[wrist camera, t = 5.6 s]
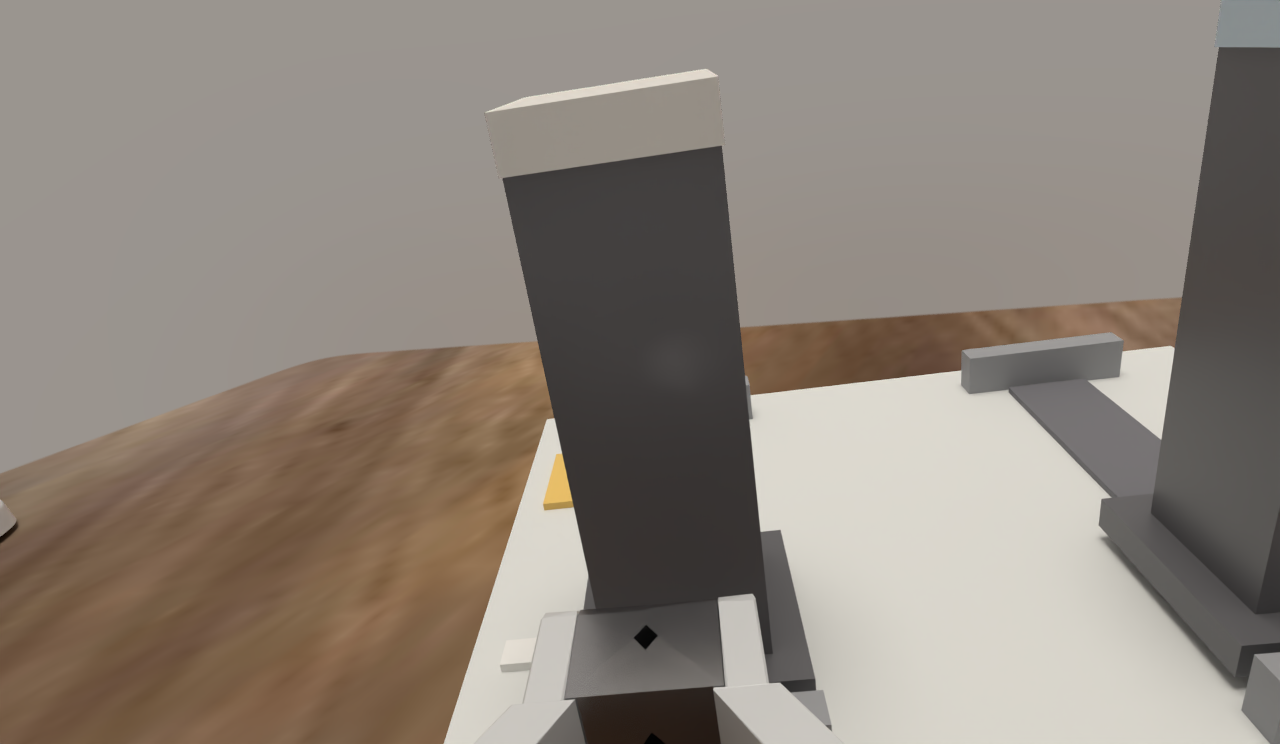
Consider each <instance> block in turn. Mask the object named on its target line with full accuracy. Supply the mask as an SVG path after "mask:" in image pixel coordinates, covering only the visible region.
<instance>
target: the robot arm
mask: <svg viewBox="0 0 1280 744" xmlns="http://www.w3.org/2000/svg"><path fill="white" fill-rule="evenodd" d="M15 523H16V518H15V516H14V515H13V514H12V512H11V511H10V510H9V509H8V507H7V506H6V505H5V503H4V502H3V501H2V500H0V536H1V535H3V534H4V533H6V532H7V531H8V530H9V529H10V528H12V526H13V525H14V524H15ZM718 605H719V607H718ZM474 744H844V743H843V742H842V741H841V740H840V739H839V738H838V737H837V736H836V735H835V734H834V733H833V732H832V731H831V730H829V729H828V728H827V727H826V726H825V725H824V724H823V723H822V722H821V721H820V720H819V719H818V718H817V717H816V716H815V715H814V714H813V713H812V712H810V711H809V710H808V709H807V708H806V707H805V706H804V705H803V704H802V703H801V702H800V701H799V700H798V699H797V698H796V697H795V696H794V695H793V694H792V693H790V692H789V691H788V690H787V689H786V688H785V687H784V686H783V685H782V684H781V683H769V680H768V673H767V667H766V661H765V655H764V648H763V642H762V636H761V630H760V623H759V617H758V611H757V604H756V598H755V597H754V595H753V594H744V595H736V596H727V597H718V600H717V598H716V599H706V600H696V601H686V602H675V603H665V604H655V605H643V606H628V607H614V608H599V609H585V610H580V611H565V612H551V613H545V615H544V616H543V618H542V619H541V621H540V626H539V630H538V635H537V639H536V644H535V648H534V653H533V657H532V662H531V666H530V671H529V675H528V680H527V684H526V689H525V693H524V698H523V702H522V704H513V705H511V706H510V707H509V708H508V709H507V710H506V711H505V712H504V713H503V714H502V715H501V716H500V717H499V718H498V719H497V720H496V721H495V722H494V723H493V724H492V725H491V726H490V727H489V729H488V730H487V731H486V732H485V733H484V734H483V735H482V736H481V737H480V738H479V739H478V740H477V741H476V742H475V743H474Z"/></svg>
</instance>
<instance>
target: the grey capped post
mask: <svg viewBox="0 0 1280 744" xmlns="http://www.w3.org/2000/svg"><path fill="white" fill-rule="evenodd" d="M1215 47H1219V51H1218V58H1217V64H1216V71H1215V79H1214V85H1213V92H1212V99H1211V105H1210V113H1209V119H1208V126H1207V132H1206V139H1205V146H1204V153H1203V160H1202V166H1201V174H1200V180H1199V187H1198V194H1197V201H1196V208H1195V214H1194V221H1193V228H1192V235H1191V242H1190V248H1189V256H1188V262H1187V269H1186V275H1185V283H1184V290H1183V296H1182V303H1181V309H1180V316H1179V323H1178V330H1177V337H1176V344H1175V350H1174V357H1173V364H1172V371H1171V378H1170V384H1169V391H1168V398H1167V405H1166V412H1165V418H1164V425H1163V432H1162V439H1161V446H1160V452H1159V459H1158V466H1157V473H1156V480H1155V486H1154V493H1153V494H1144V495H1134V496H1124V497H1114V498H1105V499H1101V508H1100V517H1099V526H1100V527H1101V529H1102V530H1103V531H1104V532H1105V533H1106V534H1107V535H1108V536H1109V537H1110V539H1111V540H1112V541H1113V542H1114V543H1115V544H1116V545H1117V546H1118V548H1119V549H1120V550H1121V551H1122V552H1123V553H1124V554H1125V555H1126V556H1127V558H1128V559H1129V560H1130V561H1131V562H1132V563H1133V564H1134V565H1135V566H1136V568H1137V569H1138V570H1139V571H1140V572H1141V573H1142V574H1143V575H1144V577H1145V578H1146V579H1147V580H1148V581H1149V582H1150V583H1151V584H1152V585H1153V587H1154V588H1155V589H1156V590H1157V591H1158V592H1159V593H1160V594H1161V595H1162V597H1163V598H1164V599H1165V600H1166V601H1167V602H1168V603H1169V604H1170V606H1171V607H1172V608H1173V609H1174V610H1175V611H1176V612H1177V613H1178V614H1179V616H1180V617H1181V618H1182V619H1183V620H1184V621H1185V622H1186V623H1187V625H1188V626H1189V627H1190V628H1191V629H1192V630H1193V631H1194V632H1195V633H1196V635H1197V636H1198V637H1199V638H1200V639H1201V640H1202V641H1203V642H1204V643H1205V645H1206V646H1207V647H1208V648H1209V649H1210V650H1211V651H1212V652H1213V654H1214V655H1215V656H1216V657H1217V658H1218V659H1219V660H1220V661H1221V662H1222V664H1223V665H1224V666H1225V667H1226V668H1227V669H1228V670H1229V671H1230V672H1231V674H1232V675H1233V676H1234V677H1245V676H1249V675H1250V671H1251V666H1252V662H1253V658H1254V654H1265V653H1277V652H1280V0H1221V5H1220V12H1219V19H1218V26H1217V33H1216V40H1215Z"/></svg>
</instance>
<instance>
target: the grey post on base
mask: <svg viewBox="0 0 1280 744" xmlns="http://www.w3.org/2000/svg"><path fill="white" fill-rule="evenodd" d="M484 114H485V118H486V122H487V127H488V131H489V136H490V141H491V146H492V150H493V154H494V159H495V164H496V169H497V173H498V178H503V183H504V187H505V192H506V197H507V201H508V206H509V210H510V215H511V219H512V224H513V229H514V233H515V237H516V243H517V247H518V252H519V257H520V261H521V266H522V270H523V274H524V280H525V284H526V289H527V294H528V298H529V303H530V307H531V312H532V316H533V321H534V326H535V331H536V335H537V340H538V344H539V349H540V354H541V358H542V363H543V367H544V372H545V377H546V381H547V386H548V391H549V395H550V400H551V404H552V409H553V414H554V418H555V423H556V428H557V432H558V437H559V441H560V446H561V451H562V455H563V460H564V464H565V469H566V474H567V478H568V483H569V488H570V492H571V497H572V501H573V506H574V511H575V515H576V520H577V525H578V529H579V534H580V538H581V543H582V548H583V552H584V557H585V561H586V566H587V571H588V581H587V588H586V595H585V601H584V608H583V610H585V609H599V608H614V607H628V606H643V605H655V604H665V603H675V602H686V601H696V600H706V599H716V598H717V600H718V597H727V596H736V595H744V594H753V595H754V597H755V598H756V604H757V611H758V617H759V623H760V630H761V636H762V642H763V648H764V655H765V661H766V667H767V673H768V680H769V683H781V684H782V685H783V686H784V687H785V688H786V689H787V690H788V691H789V692H790V693H792V692H804V691H816V680H815V675H814V671H813V666H812V662H811V658H810V654H809V649H808V645H807V641H806V636H805V632H804V628H803V624H802V619H801V615H800V611H799V606H798V602H797V598H796V594H795V589H794V585H793V581H792V577H791V572H790V568H789V564H788V559H787V555H786V551H785V547H784V542H783V538H782V534H781V530H773V531H763V532H761V531H760V521H759V512H758V502H757V492H756V482H755V472H754V462H753V452H752V442H751V432H750V422H749V412H748V402H747V392H746V382H745V372H744V362H743V352H742V342H741V332H740V323H739V313H738V303H737V294H736V283H735V273H734V263H733V253H732V243H731V233H730V224H729V213H728V204H727V193H726V184H725V173H724V163H723V153H722V145H725V139H724V129H723V119H722V109H721V98H720V89H719V78H718V76H717V75H716V74H714V73H712V72H711V71H709V70H708V69H702V70H695V71H690V72H683V73H676V74H670V75H664V76H657V77H651V78H645V79H638V80H632V81H626V82H619V83H613V84H607V85H600V86H594V87H588V88H581V89H575V90H568V91H562V92H556V93H549V94H543V95H537V96H530V97H525V98H522V99H519V100H517V101H514V102H512V103H509V104H506V105H504V106H501V107H499V108H496V109H493V110H490V111H488V112H485V113H484ZM718 607H719V605H718Z"/></svg>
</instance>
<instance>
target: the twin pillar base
mask: <svg viewBox="0 0 1280 744" xmlns="http://www.w3.org/2000/svg"><path fill="white" fill-rule="evenodd" d="M1123 342H1124V340H1122V339H1121V338H1119V337H1118V336H1116V335H1114V334H1113V333H1111V332H1110V333H1102V334H1094V335H1085V336H1077V337H1069V338H1060V339H1052V340H1044V341H1035V342H1027V343H1019V344H1010V345H1002V346H994V347H986V348H977V349H969V350H962V368H961V371H954V372H946V373H937V374H929V375H920V376H912V377H903V378H895V379H886V380H878V381H869V382H861V383H852V384H844V385H835V386H827V387H818V388H810V389H801V390H793V391H785V392H776V393H768V394H759V395H751V396H750V386H749V381H748V377H747V376H745V382H746V392H747V402H748V412H749V422H750V432H751V442H752V452H753V462H754V472H755V482H756V492H757V502H758V512H759V521H760V531H761V532H763V531H773V530H781V534H782V538H783V542H784V547H785V551H786V555H787V559H788V564H789V568H790V572H791V577H792V581H793V585H794V589H795V594H796V598H797V602H798V606H799V611H800V615H801V619H802V624H803V628H804V632H805V636H806V641H807V645H808V649H809V654H810V658H811V662H812V666H813V671H814V675H815V680H816V691H804V692H792V694H793V695H794V696H795V697H796V698H797V699H798V700H799V701H800V702H801V703H802V704H803V705H804V706H805V707H806V708H807V709H808V710H809V711H810V712H812V713H813V714H814V715H815V716H816V717H817V718H818V719H819V720H820V721H821V722H822V723H823V724H824V725H825V726H826V727H827V728H828V729H829V730H831V731H832V732H833V733H834V734H835V735H836V736H837V737H838V738H839V739H840V740H841V741H842V742H843V743H844V744H1280V652H1277V653H1265V654H1254V658H1253V662H1252V666H1251V671H1250V675H1249V676H1245V677H1234V676H1233V675H1232V674H1231V672H1230V671H1229V670H1228V669H1227V668H1226V667H1225V666H1224V665H1223V664H1222V662H1221V661H1220V660H1219V659H1218V658H1217V657H1216V656H1215V655H1214V654H1213V652H1212V651H1211V650H1210V649H1209V648H1208V647H1207V646H1206V645H1205V643H1204V642H1203V641H1202V640H1201V639H1200V638H1199V637H1198V636H1197V635H1196V633H1195V632H1194V631H1193V630H1192V629H1191V628H1190V627H1189V626H1188V625H1187V623H1186V622H1185V621H1184V620H1183V619H1182V618H1181V617H1180V616H1179V614H1178V613H1177V612H1176V611H1175V610H1174V609H1173V608H1172V607H1171V606H1170V604H1169V603H1168V602H1167V601H1166V600H1165V599H1164V598H1163V597H1162V595H1161V594H1160V593H1159V592H1158V591H1157V590H1156V589H1155V588H1154V587H1153V585H1152V584H1151V583H1150V582H1149V581H1148V580H1147V579H1146V578H1145V577H1144V575H1143V574H1142V573H1141V572H1140V571H1139V570H1138V569H1137V568H1136V566H1135V565H1134V564H1133V563H1132V562H1131V561H1130V560H1129V559H1128V558H1127V556H1126V555H1125V554H1124V553H1123V552H1122V551H1121V550H1120V549H1119V548H1118V546H1117V545H1116V544H1115V543H1114V542H1113V541H1112V540H1111V539H1110V537H1109V536H1108V535H1107V534H1106V533H1105V532H1104V531H1103V530H1102V529H1101V527H1100V526H1099V517H1100V508H1101V499H1105V498H1114V497H1124V496H1134V495H1144V494H1153V493H1154V486H1155V480H1156V473H1157V466H1158V459H1159V452H1160V446H1161V439H1162V432H1163V425H1164V418H1165V412H1166V405H1167V398H1168V391H1169V384H1170V378H1171V371H1172V364H1173V357H1174V350H1175V348H1173V347H1171V346H1166V347H1158V348H1149V349H1141V350H1132V351H1124V352H1122V351H1123ZM587 581H588V571H587V566H586V561H585V557H584V552H583V548H582V543H581V538H580V534H579V529H578V525H577V520H576V515H575V511H574V506H573V501H572V497H571V492H570V488H569V483H568V478H567V474H566V469H565V464H564V460H563V455H562V451H561V446H560V441H559V437H558V432H557V428H556V423H555V419H547V421H546V424H545V427H544V431H543V434H542V437H541V440H540V443H539V446H538V449H537V453H536V456H535V459H534V462H533V465H532V468H531V471H530V475H529V478H528V481H527V484H526V487H525V490H524V493H523V497H522V500H521V503H520V506H519V509H518V512H517V515H516V519H515V522H514V525H513V528H512V531H511V534H510V537H509V541H508V544H507V547H506V550H505V553H504V556H503V559H502V563H501V566H500V569H499V572H498V575H497V578H496V581H495V585H494V588H493V591H492V594H491V597H490V600H489V603H488V606H487V610H486V613H485V616H484V619H483V622H482V625H481V628H480V632H479V635H478V638H477V641H476V644H475V647H474V650H473V654H472V657H471V660H470V663H469V666H468V669H467V672H466V676H465V679H464V682H463V685H462V688H461V691H460V694H459V698H458V701H457V704H456V707H455V710H454V713H453V716H452V720H451V723H450V726H449V729H448V732H447V735H446V738H445V742H444V744H474V743H475V742H476V741H477V740H478V739H479V738H480V737H481V736H482V735H483V734H484V733H485V732H486V731H487V730H488V729H489V727H490V726H491V725H492V724H493V723H494V722H495V721H496V720H497V719H498V718H499V717H500V716H501V715H502V714H503V713H504V712H505V711H506V710H507V709H508V708H509V707H510V706H511V705H513V704H522V702H523V698H524V693H525V689H526V684H527V680H528V675H529V671H530V666H531V662H532V657H533V653H534V648H535V644H536V639H537V635H538V630H539V626H540V621H541V619H542V618H543V616H544V615H545V613H551V612H565V611H580V610H583V608H584V601H585V595H586V588H587Z"/></svg>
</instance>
